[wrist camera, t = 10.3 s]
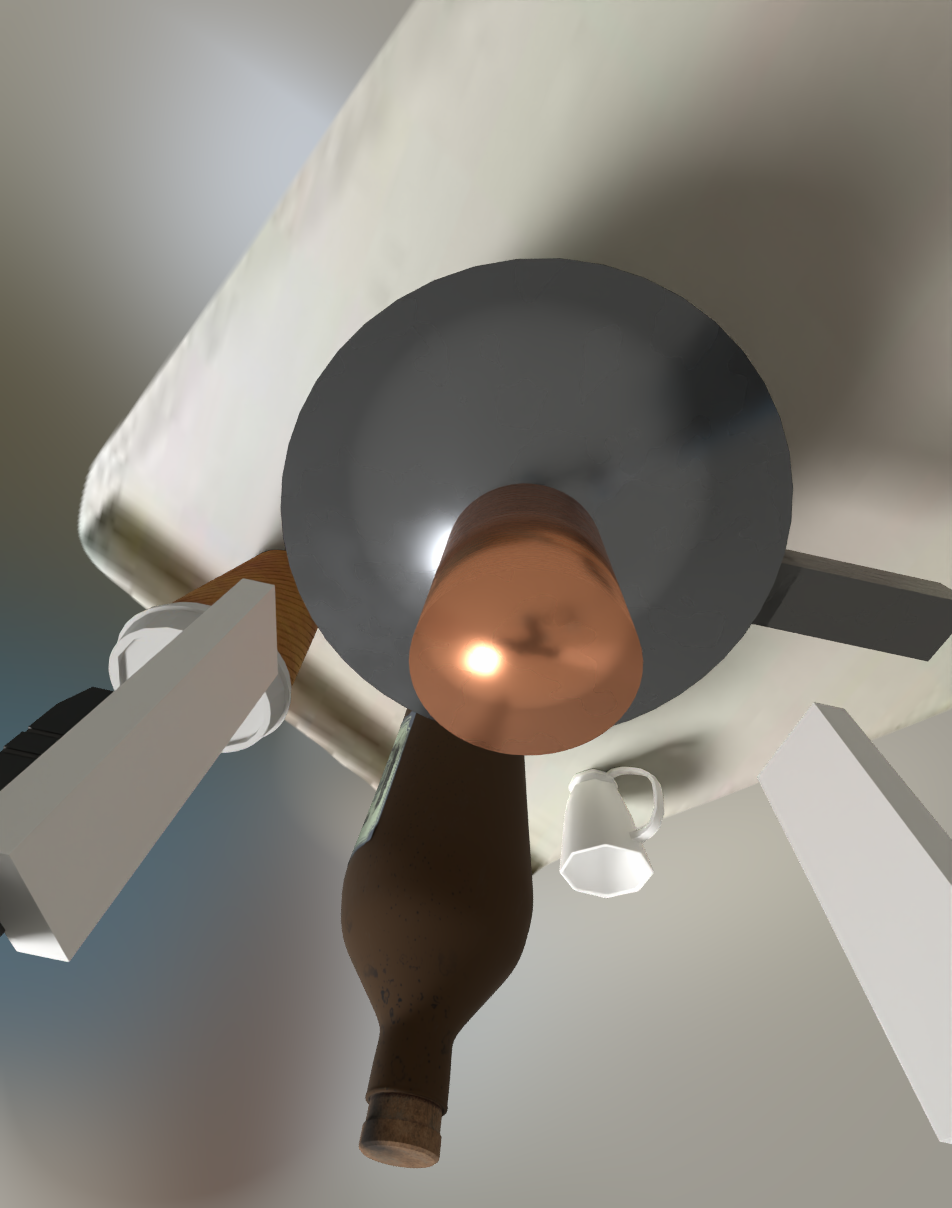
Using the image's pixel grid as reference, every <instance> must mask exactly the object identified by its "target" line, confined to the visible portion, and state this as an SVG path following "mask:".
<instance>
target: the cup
mask: <svg viewBox="0 0 952 1208" xmlns="http://www.w3.org/2000/svg"><path fill="white" fill-rule="evenodd" d="M625 774H633V775H641V776H646V777H648V778H649V780H650V781H651V783H652V788H653V793H654V809H653V812H652V815H651V818H650V821H649V823H648V824H647V825H646V826H645V827H644V828H641V829H638V830H637V828H636V826H635V823H634V820H633V818H632V816H631V814H630V812H629V810H628V808H627V806H626V804H625V802H624V800H623V798H622V796H621V795H620V793H619V792H618V784H617V783H616V781H615V780H614V778H615V777H617V776H618V775H625ZM568 787H569V790H570V792H571V793H570V795H569V797H568V802H567V806H566V811H565V816H564V826H563V839H562V850H561V860H560V873H561V874H562V876H563V877H564V878H565V879H566V881H567V882H568V883H569V884H570V886H571V887H572V888H573V889H574V890H575V891H579V892H584V893H588V894H592V895H596V896H600V897H604V898H608V897H613V896H617V895H622V894H627V893H631V892H636V891H639V890H640V889H641V888H642V886H643V885H644V884H645V883H646V882H647V880H648V879H649V878H650V877H651V875H652V874H653V873H654V872H653V869H652V866H651V864H650V861H649V859H648V856H647V853H646V851H645V849H644V846H643V844H642V842H645V841H646V840H648V839H649V838H650V837H652V836H653V835H654V834H655V833H656V832H657V830H658V829H659V828H660V825H661V822H662V818H663V815H664V797H663V792H662V787H661V785H660V783H659V782H658V780H657V779H656V777H655V776H653V775H652V774H650V773H649V772H647V771H645V770H643V769H640V768H634V767H617V768H612V769H610V770H609V771H607V772H604V771H600V770H596V769H590V770H586V771H583V772H580V773H577V774H575V775H574V777H573V779H572V780H571V782H570V784H569V786H568Z"/></svg>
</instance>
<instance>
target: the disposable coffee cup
mask: <svg viewBox="0 0 952 1208" xmlns="http://www.w3.org/2000/svg"><path fill="white" fill-rule="evenodd" d="M243 578H244V579H249V580H253V581H258V582H263V583H267V584H272V585H275V604H276V633H277V663H278V675H277V676H276V677H275V679H274V680H273V682H272V683H271V684H270V686H269V687H268V688H267V690H266V691H265V693H264V694H263V695H262V697H261V698H260V699H259V701H258V702H257V704H256V705H255V706H254V708H253V709H252V711H251V712H250V713H249V715H248V716H247V717H246V719H245V720H244V722H243V723H242V724H241V726H240V727H239V728H238V730H237V731H236V733H235V734H234V735H233V737H232V738H231V739H230V741H229V742H228V744H227V745H226V746H225V748H224V749H223V750H222V752H221V753H227V752H234V751H238V750H242V749H245V748H247V747H249V746H251V745H253V744H255V743H256V742H257V741H258V740H259V739H261V738H262V737H264V736H267V735H268V734H270V733H272V732H273V731H274V730H275V729H277V728H278V727H279V726H280V725H281V723H282V722H283V721H284V719H285V717H286V715H287V713H288V709H289V706H290V702H291V688H292V685H293V683H294V681H295V679H296V676H297V674H298V672H299V669H300V668H301V665H302V663H303V661H304V658H305V656H306V654H307V651H308V650H309V647H310V645H311V643H312V639H313V638H314V636H315V633H316V631H317V628H318V626H317V625H316V623H315V622H314V620H313V619H312V617H311V615H310V613H309V611H308V609H307V608H306V606H305V604H304V602H303V600H302V598H301V596H300V594H299V591H298V588H297V586H296V583H295V580H294V577H293V574H292V572H291V569H290V566H289V561H288V557H287V552H286V551H285V550H270V551H266V552H263V553H261V554H259V555H257V556H256V557H254V558H252V559H250V560H248V561H247V562H245V563H243V564H241V565H239V566H238V567H236V568H234V569H232V570H230V571H228V572H227V573H225V574H223V575H222V576H219V577H217V578H215V579H214V580H212V581H210V582H208V583H207V584H205V585H203V586H201V587H200V588H197V589H195V590H194V591H192V592H190V593H188V594H187V595H185V596H184V597H182V598H180V599H178V600H176V601H174V602H173V603H171V604H165V605H159V606H154V607H151V608H149V609H147V610H145V611H143V612H141V613H139V614H136V615H135V616H134V617H133V618H132V619H130V620H129V621H128V622H127V623H126V624H125V626H124V627H123V629H122V631H121V632H120V634H119V639H118V643H117V644H116V646H115V647H114V648H113V650H112V653H111V655H110V658H109V674H110V679H111V683H112V685H113V688H114V690H116V689H117V688H118V687H120V686H121V685H122V684H123V683H124V682H125V681H126V680H128V679H129V678H130V677H131V676H132V675H133V674H134V673H136V672H137V671H138V670H139V669H140V668H141V667H142V666H143V665H145V664H146V663H147V662H148V661H149V660H150V659H151V658H153V657H154V656H155V655H156V654H157V653H158V652H159V651H161V650H162V649H163V648H164V647H165V646H166V645H167V644H169V643H170V642H171V641H172V640H173V639H174V638H175V637H177V636H178V635H179V634H180V633H181V632H182V631H183V630H185V629H186V628H187V627H188V626H189V625H190V624H191V623H192V622H194V621H195V620H196V619H197V618H198V617H199V616H200V615H202V614H203V613H204V612H205V611H206V610H207V609H208V608H210V607H211V606H212V605H213V604H214V603H215V602H216V601H218V600H219V599H220V598H221V597H222V596H223V595H224V594H226V593H227V592H228V591H229V590H230V589H231V588H232V587H234V586H235V585H236V584H237V583H238V582H239V581H240V580H241V579H243Z"/></svg>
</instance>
